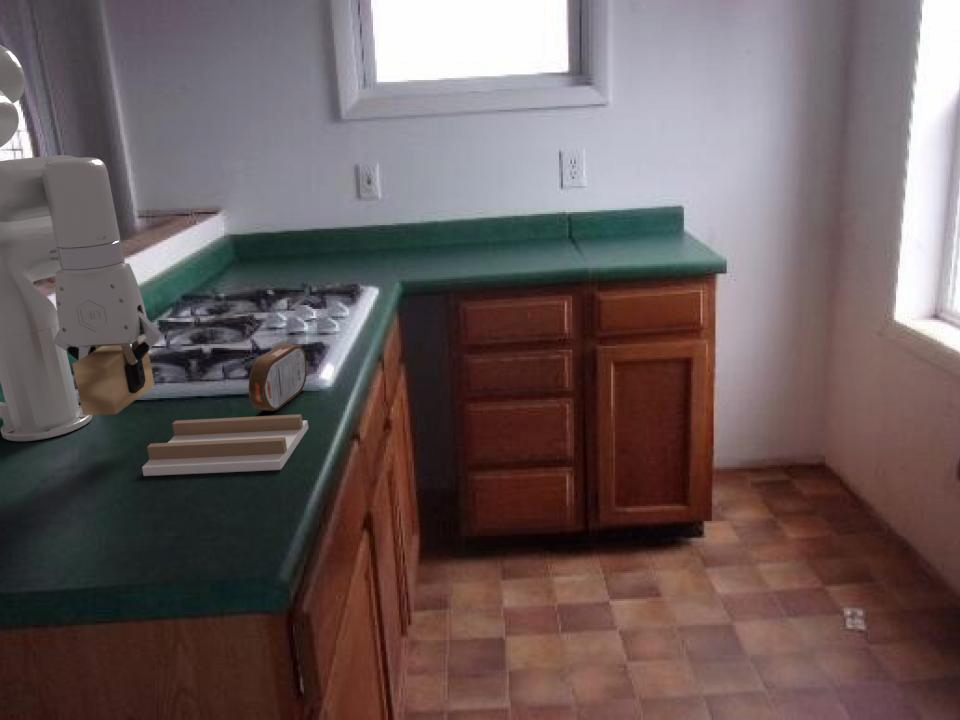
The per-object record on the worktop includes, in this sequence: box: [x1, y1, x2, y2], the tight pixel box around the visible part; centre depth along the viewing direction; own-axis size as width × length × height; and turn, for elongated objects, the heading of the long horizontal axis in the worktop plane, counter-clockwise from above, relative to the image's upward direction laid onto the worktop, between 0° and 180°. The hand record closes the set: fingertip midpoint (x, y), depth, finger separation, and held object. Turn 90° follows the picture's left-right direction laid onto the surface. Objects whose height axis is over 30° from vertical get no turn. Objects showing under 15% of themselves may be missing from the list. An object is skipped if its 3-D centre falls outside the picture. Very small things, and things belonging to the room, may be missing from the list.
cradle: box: [141, 413, 309, 477], centre depth 116 cm, size 18×14×3 cm
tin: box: [248, 343, 308, 412], centre depth 133 cm, size 15×3×8 cm, turn 166°
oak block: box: [71, 337, 155, 416], centre depth 115 cm, size 4×11×7 cm, turn 175°
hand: (118, 389), depth 116 cm, fingers closed on oak block, 4 cm apart
